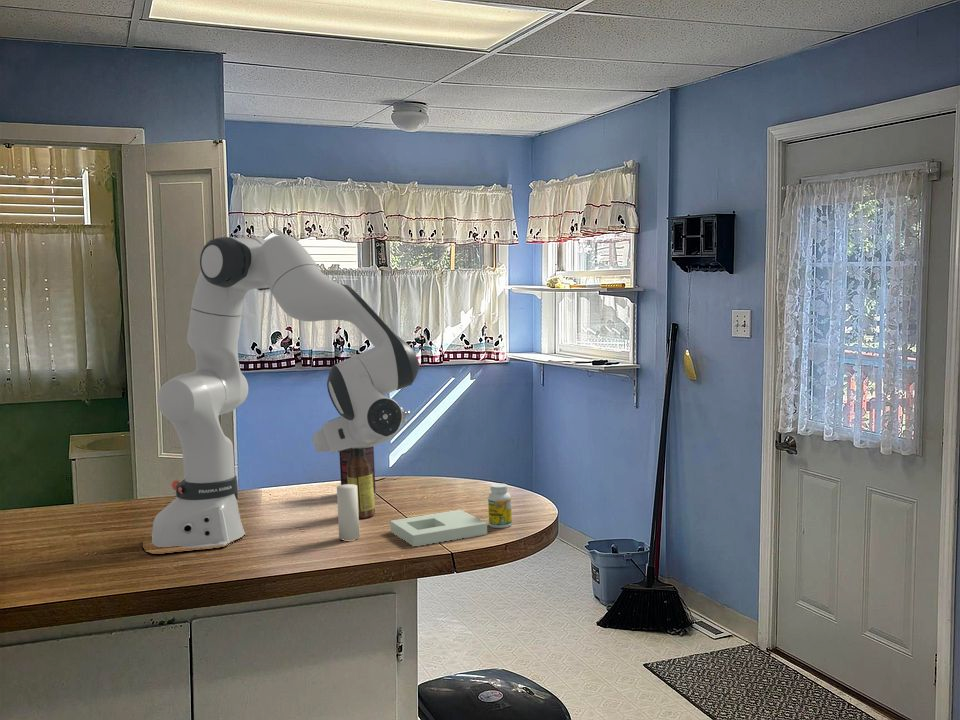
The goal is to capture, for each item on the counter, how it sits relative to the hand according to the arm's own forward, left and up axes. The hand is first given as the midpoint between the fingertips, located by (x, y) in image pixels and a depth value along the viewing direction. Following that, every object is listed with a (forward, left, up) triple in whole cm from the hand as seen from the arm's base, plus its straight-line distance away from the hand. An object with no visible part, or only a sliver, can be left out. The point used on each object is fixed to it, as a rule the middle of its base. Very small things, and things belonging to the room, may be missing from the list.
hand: (353, 432), depth 203 cm
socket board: (+18, -3, -25) cm, 31 cm away
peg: (-1, +4, -25) cm, 25 cm away
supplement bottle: (+33, -5, -25) cm, 42 cm away
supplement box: (+14, +41, -25) cm, 51 cm away
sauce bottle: (+8, +21, -25) cm, 34 cm away
